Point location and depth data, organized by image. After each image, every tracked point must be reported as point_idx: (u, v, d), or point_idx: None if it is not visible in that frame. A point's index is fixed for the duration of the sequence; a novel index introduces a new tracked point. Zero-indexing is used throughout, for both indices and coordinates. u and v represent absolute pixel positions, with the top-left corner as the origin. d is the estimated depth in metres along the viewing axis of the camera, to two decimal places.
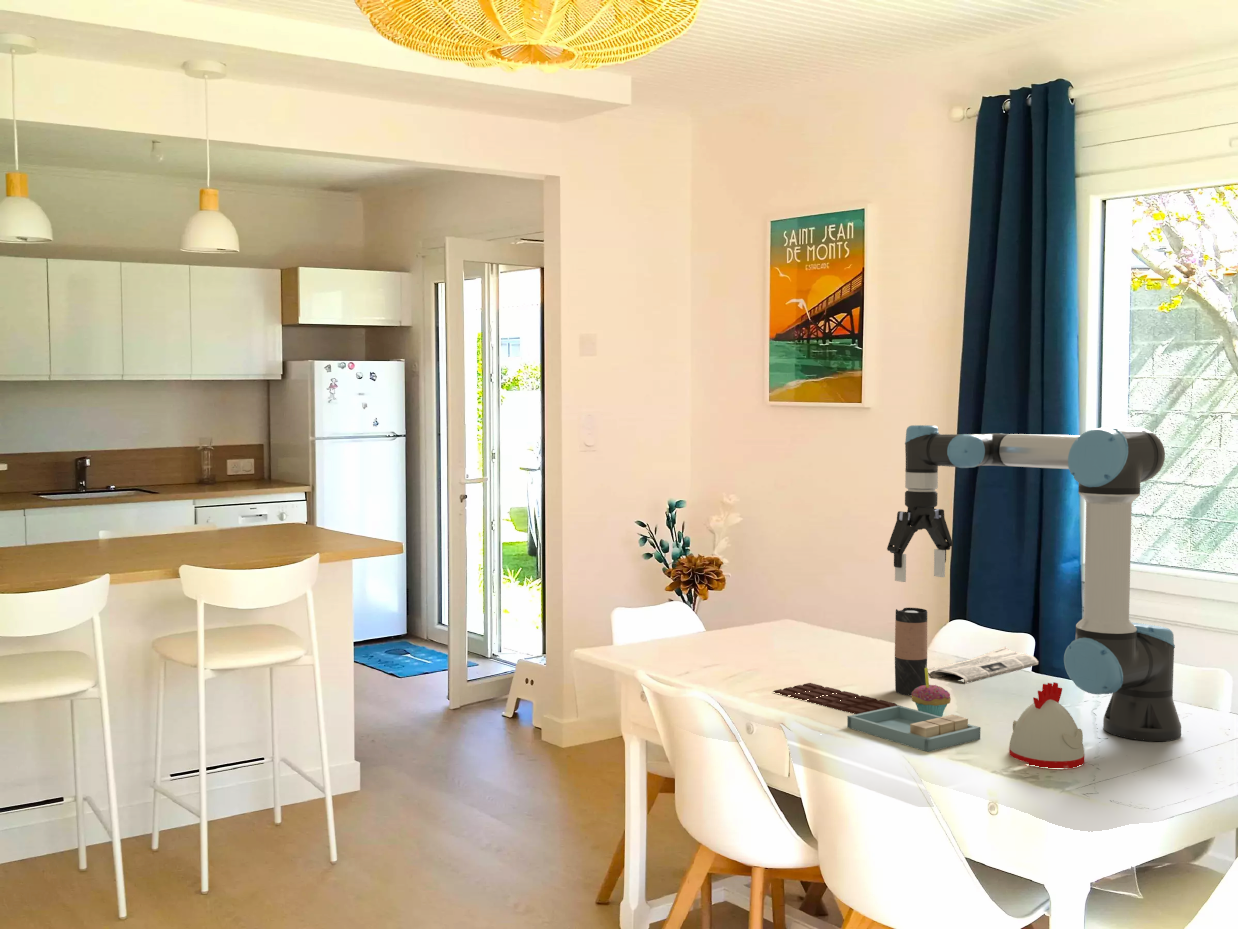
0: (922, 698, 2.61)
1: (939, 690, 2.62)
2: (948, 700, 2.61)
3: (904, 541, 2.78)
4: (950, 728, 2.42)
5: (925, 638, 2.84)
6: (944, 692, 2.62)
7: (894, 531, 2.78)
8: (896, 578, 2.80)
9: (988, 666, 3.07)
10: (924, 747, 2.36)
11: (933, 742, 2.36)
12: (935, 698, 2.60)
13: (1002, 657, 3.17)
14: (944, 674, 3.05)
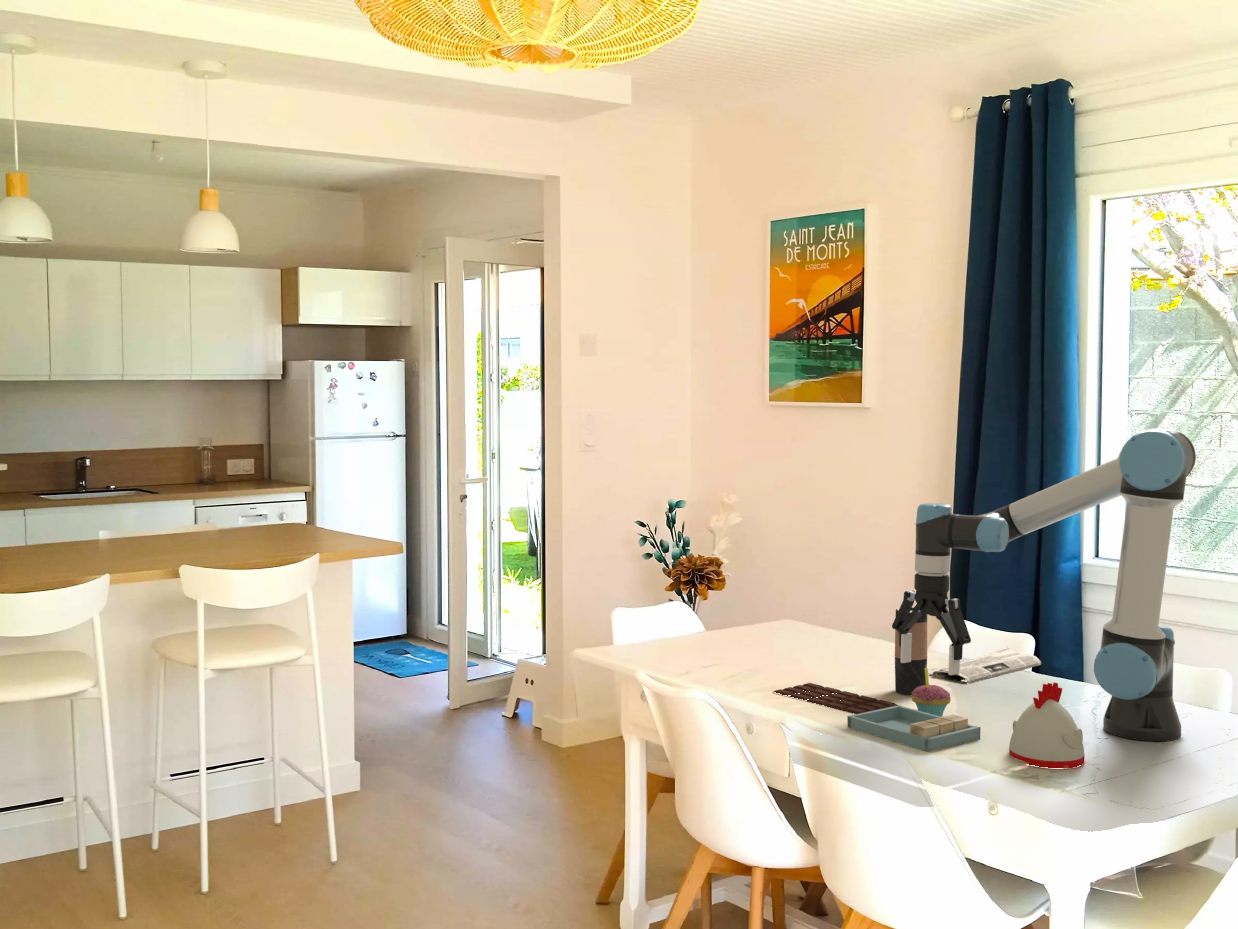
0: (922, 698, 2.61)
1: (939, 690, 2.62)
2: (948, 700, 2.61)
3: None
4: (950, 728, 2.42)
5: (925, 638, 2.84)
6: (944, 692, 2.62)
7: None
8: None
9: (990, 666, 3.07)
10: (924, 747, 2.36)
11: (933, 742, 2.36)
12: (935, 698, 2.60)
13: (1005, 657, 3.16)
14: (946, 674, 3.05)
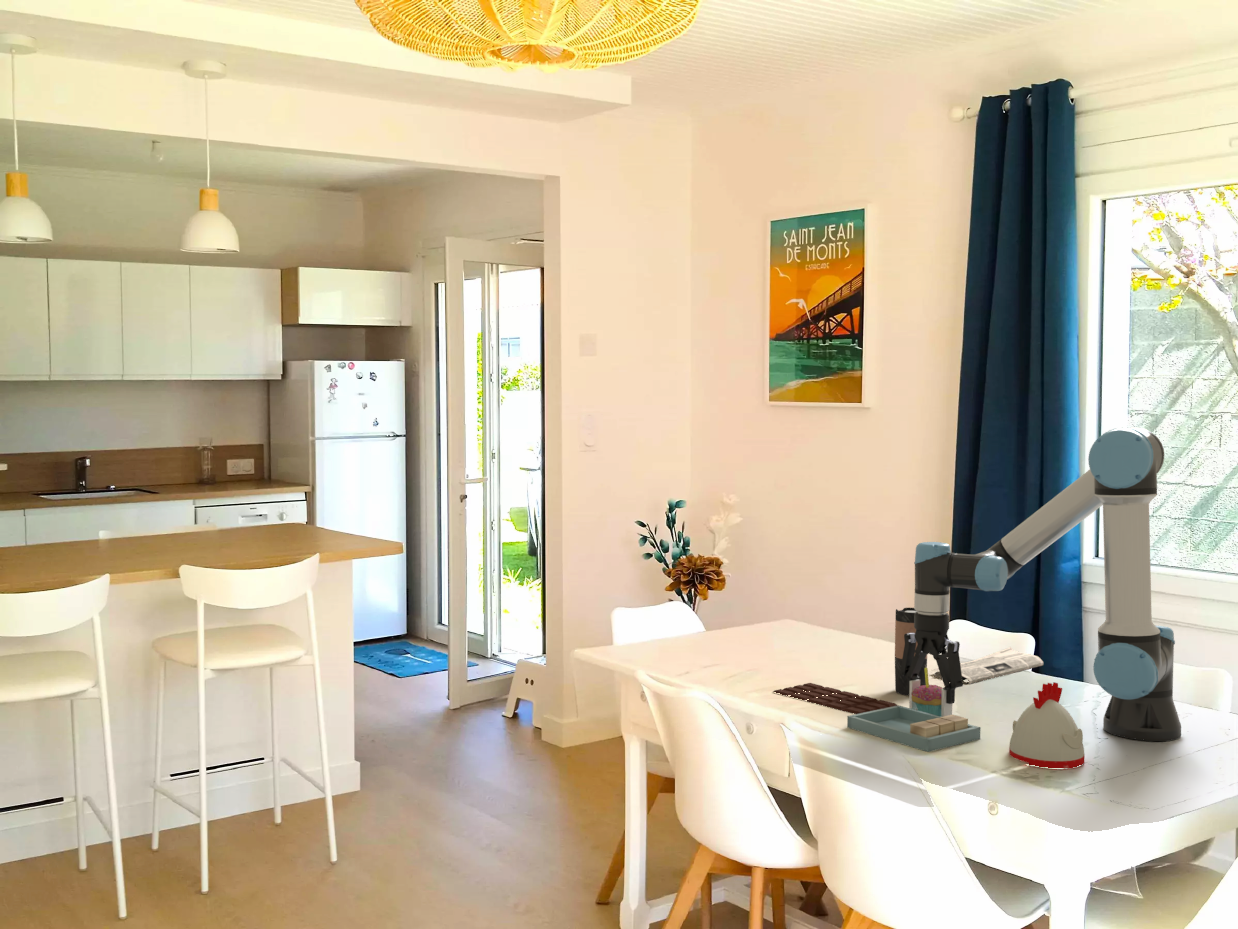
0: (922, 698, 2.61)
1: (939, 690, 2.62)
2: None
3: None
4: (950, 728, 2.42)
5: None
6: None
7: None
8: None
9: (993, 667, 3.06)
10: (924, 747, 2.36)
11: (933, 742, 2.36)
12: (935, 698, 2.60)
13: (1007, 658, 3.16)
14: None
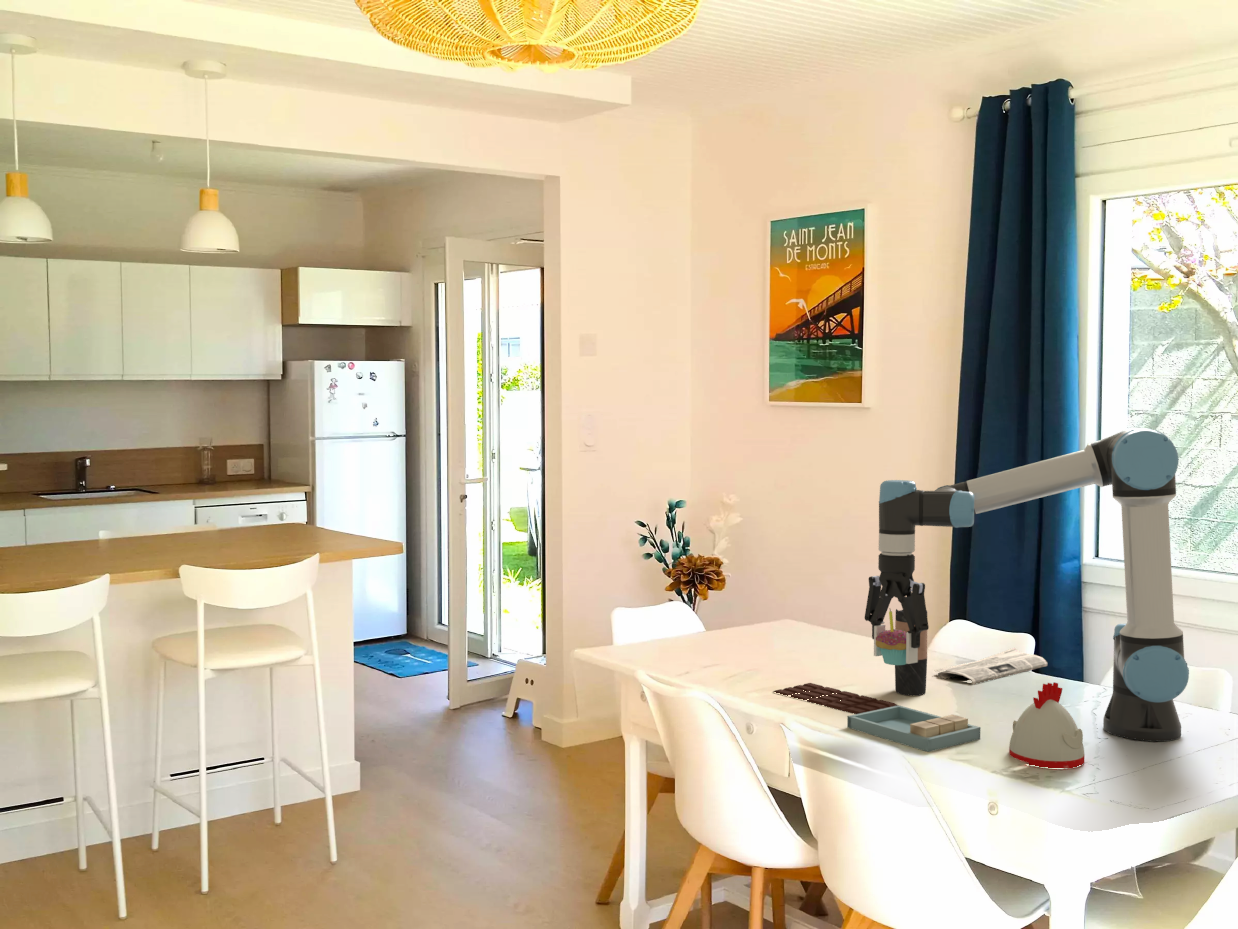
0: (886, 642, 2.49)
1: (904, 634, 2.50)
2: None
3: None
4: (950, 728, 2.42)
5: (925, 638, 2.84)
6: None
7: None
8: None
9: (996, 667, 3.05)
10: (924, 747, 2.36)
11: (933, 742, 2.36)
12: (899, 642, 2.49)
13: (1011, 658, 3.15)
14: (952, 675, 3.04)
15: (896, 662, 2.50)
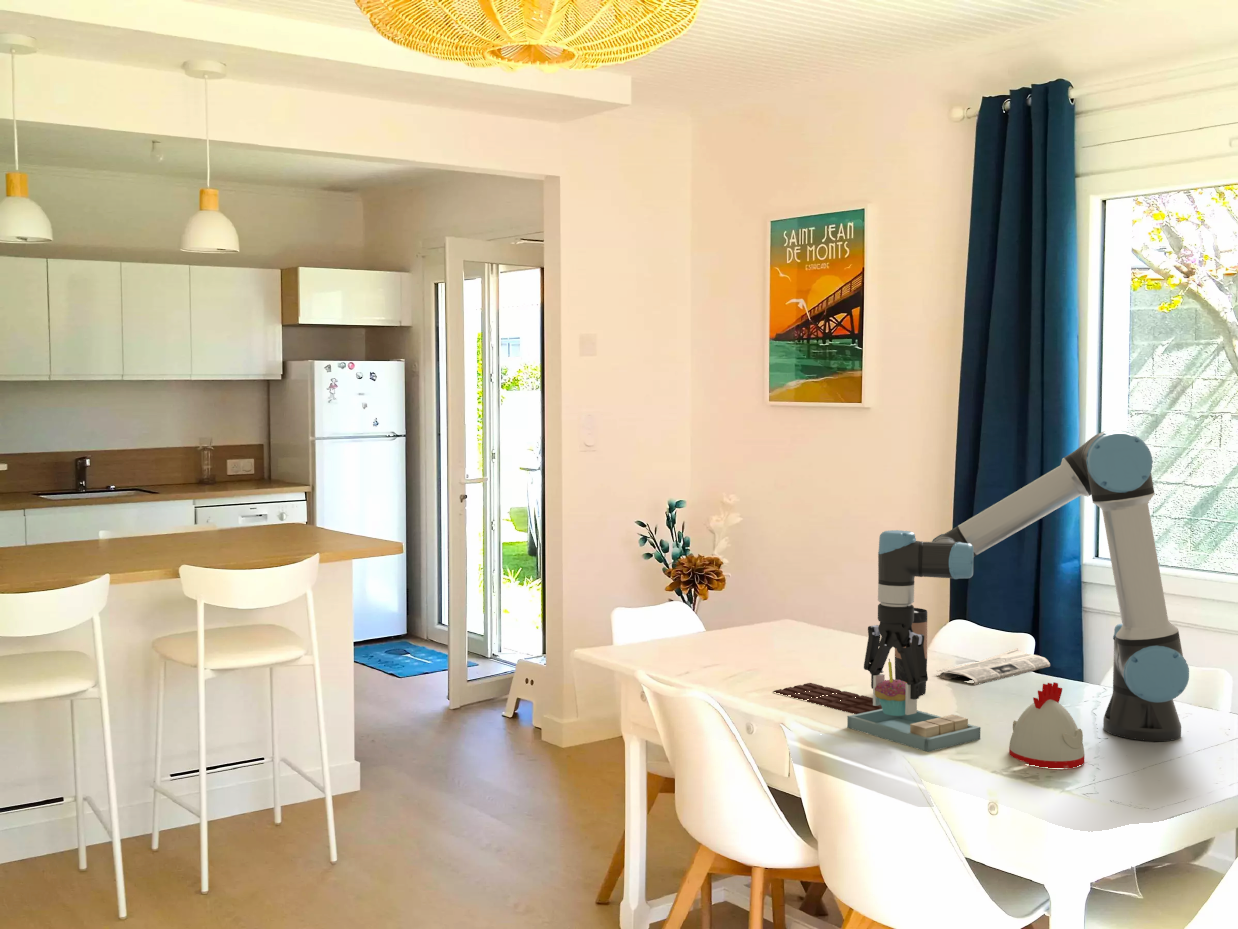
0: (885, 693, 2.50)
1: (903, 685, 2.51)
2: None
3: None
4: (950, 728, 2.42)
5: (925, 638, 2.84)
6: None
7: None
8: None
9: (999, 668, 3.05)
10: (924, 747, 2.36)
11: (933, 742, 2.36)
12: (898, 693, 2.49)
13: (1013, 659, 3.14)
14: (954, 675, 3.04)
15: (895, 712, 2.50)
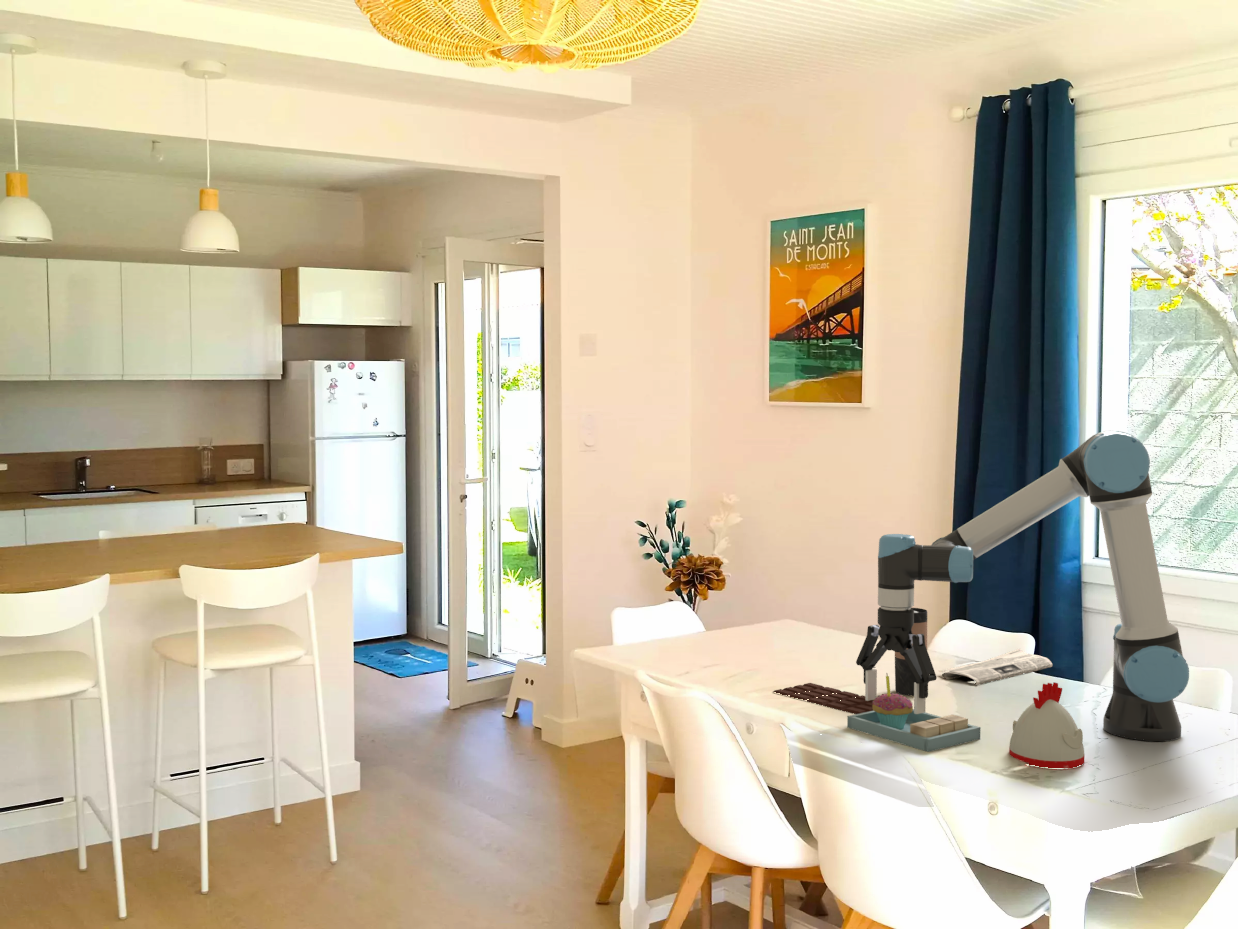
0: (883, 707, 2.50)
1: (901, 699, 2.51)
2: (910, 709, 2.51)
3: None
4: (950, 728, 2.42)
5: (925, 638, 2.84)
6: (906, 701, 2.51)
7: None
8: None
9: (1001, 668, 3.05)
10: (924, 747, 2.36)
11: (933, 742, 2.36)
12: (896, 708, 2.50)
13: (1016, 659, 3.14)
14: (956, 676, 3.03)
15: (893, 726, 2.51)
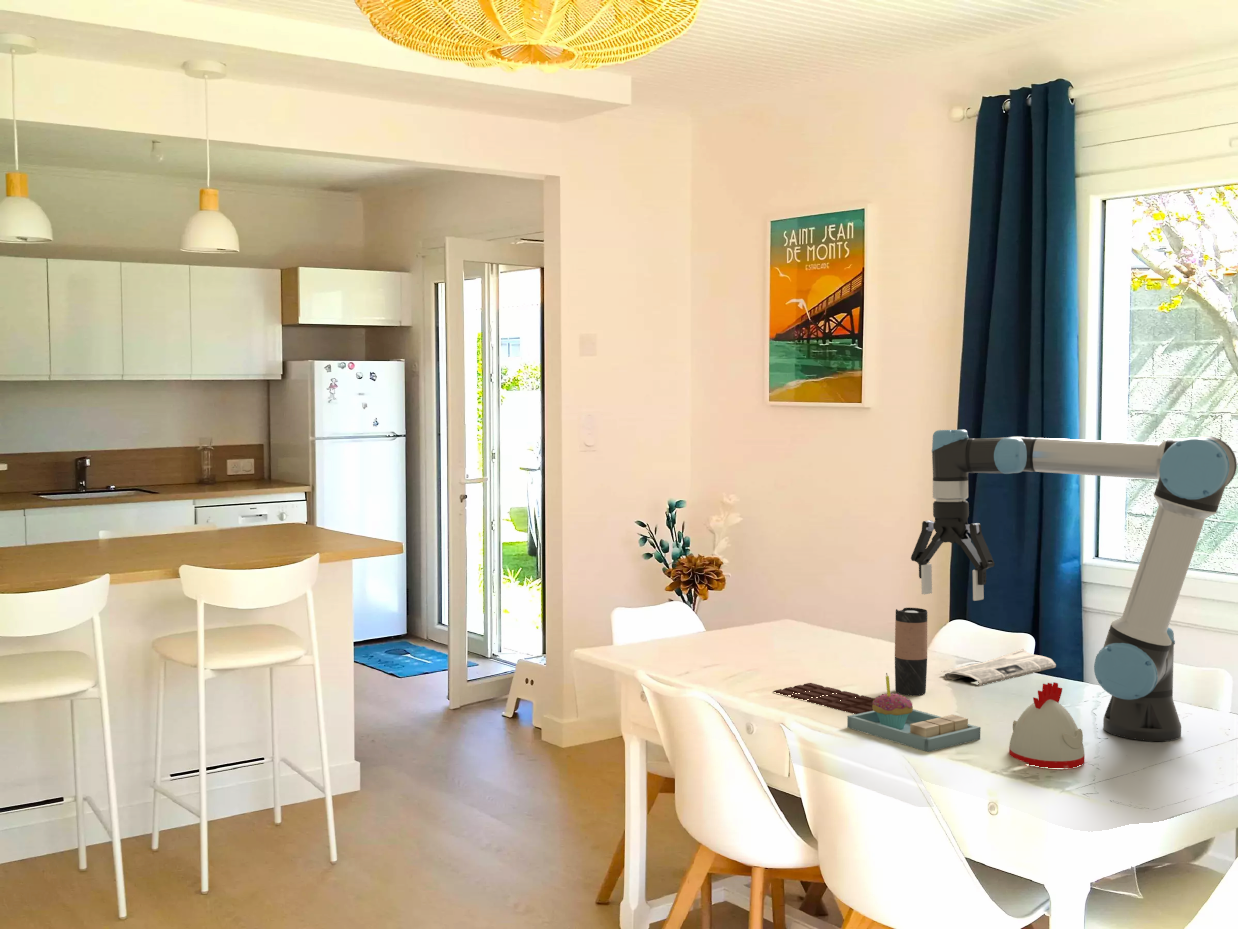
0: (883, 707, 2.50)
1: (901, 699, 2.51)
2: (910, 709, 2.51)
3: None
4: (950, 728, 2.42)
5: (925, 638, 2.84)
6: (906, 701, 2.51)
7: None
8: None
9: (1004, 668, 3.04)
10: (924, 747, 2.36)
11: (933, 742, 2.36)
12: (896, 707, 2.50)
13: (1019, 659, 3.13)
14: (959, 676, 3.03)
15: (893, 726, 2.51)
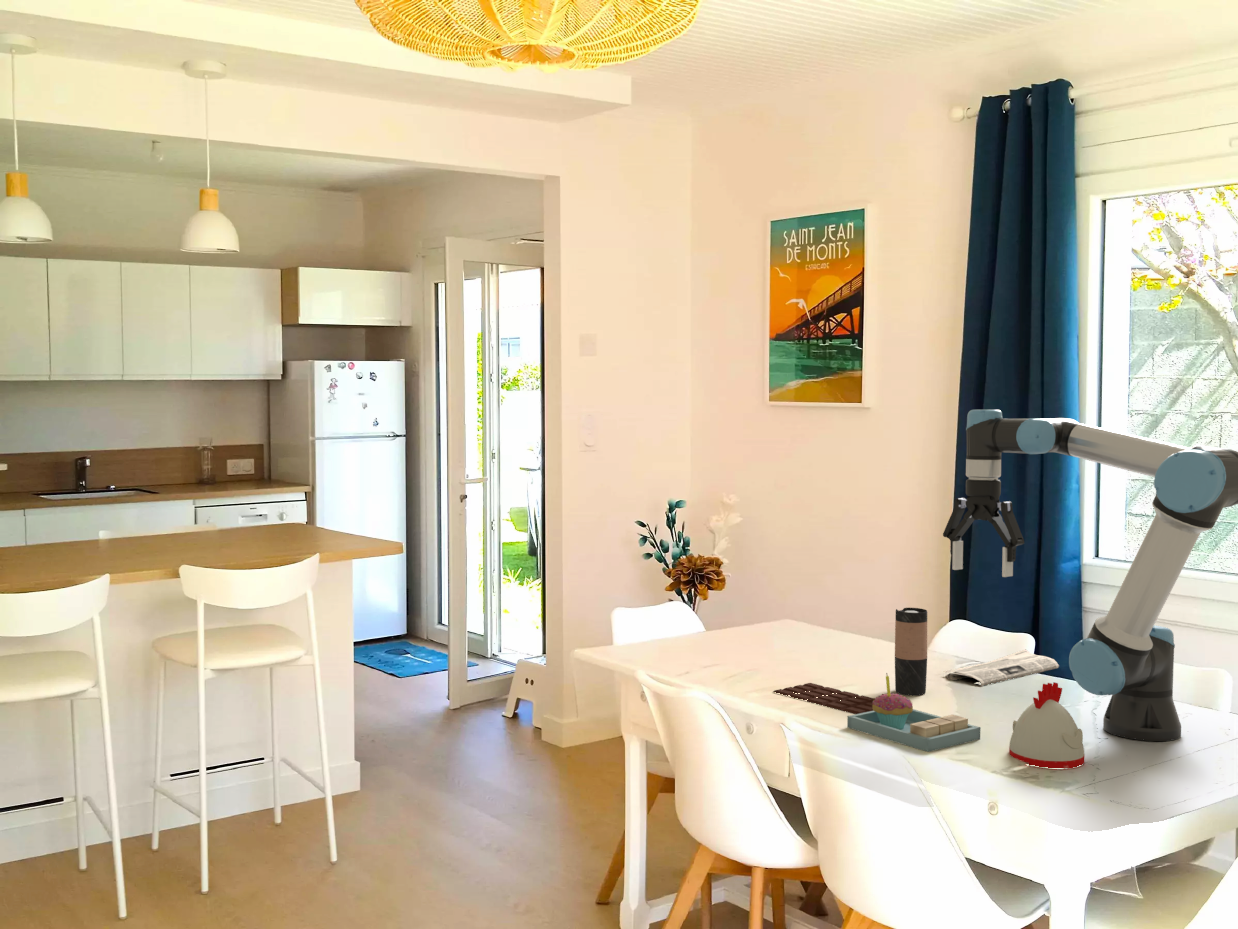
0: (883, 707, 2.50)
1: (901, 699, 2.51)
2: (910, 709, 2.51)
3: None
4: (950, 728, 2.42)
5: (925, 638, 2.84)
6: (906, 701, 2.51)
7: None
8: None
9: (1006, 669, 3.04)
10: (924, 747, 2.36)
11: (933, 742, 2.36)
12: (896, 707, 2.50)
13: (1021, 660, 3.13)
14: (961, 676, 3.02)
15: (893, 726, 2.51)
